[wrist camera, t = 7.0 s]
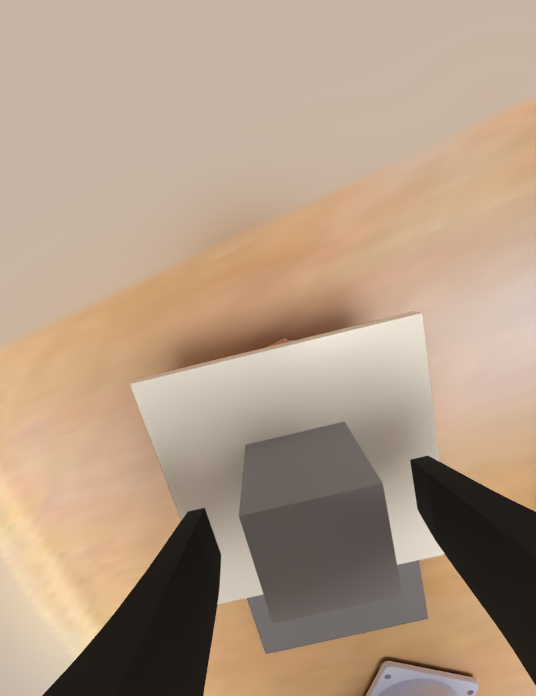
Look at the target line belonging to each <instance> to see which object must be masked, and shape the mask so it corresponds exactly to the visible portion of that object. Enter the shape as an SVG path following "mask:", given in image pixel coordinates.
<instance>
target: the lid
mask: <svg viewBox="0 0 536 696" xmlns="http://www.w3.org/2000/svg"><path fill="white" fill-rule="evenodd" d="M130 386H131V388H132V391H133V394H134V396H135V399H136V402H137V404H138V407H139V410H140V412H141V415H142V418H143V420H144V423H145V426H146V428H147V431H148V434H149V436H150V439H151V442H152V444H153V447H154V450H155V452H156V455H157V458H158V461H159V463H160V466H161V469H162V471H163V474H164V477H165V479H166V482H167V485H168V487H169V490H170V493H171V495H172V498H173V501H174V503H175V506H176V509H177V511H178V514H179V517H180V519H181V520H182V519H183V518H184V516H185V515H186V513H187V512H188V511H192V510H197V509H201V508H205V510H206V513H207V516H208V518H209V521H210V524H211V527H212V530H213V533H214V535H215V538H216V541H217V544H218V547H219V550H220V553H221V570H220V587H219V596H218V603H217V605H218V604H223V603H227V602H232V601H236V600H241V599H245V598H250V597H254V596H259V595H264V597H265V601H266V604H267V607H268V610H269V613H270V616H271V619H272V623H273V624H274V623H279V622H283V621H288V620H293V619H297V618H302V617H306V616H311V615H315V614H320V613H325V612H329V611H334V610H338V609H343V608H347V607H352V606H357V605H361V604H366V603H370V602H375V601H379V600H384V599H389V598H393V597H398V596H402V590H401V584H400V579H399V573H398V567H397V565H399V564H404V563H408V562H413V561H417V560H422V559H426V558H431V557H435V556H440V555H444V554H445V553H444V552H443V551H442V549H441V548H440V546H439V545H438V544H437V542H436V541H435V539H434V537H433V536H432V534H431V532H430V530H429V529H428V527H427V525H426V524H425V522H424V520H423V518H422V517H421V515H420V513H419V511H418V509H417V503H416V496H415V490H414V483H413V476H412V470H411V463H410V460H411V459H415V458H419V457H424V456H430V457H432V458H433V459H435V460H437V461H439V462H440V459H439V451H438V442H437V434H436V426H435V418H434V409H433V401H432V393H431V384H430V376H429V368H428V359H427V351H426V343H425V334H424V326H423V318H422V313H419V312H409V313H405V314H401V315H397V316H393V317H389V318H385V319H381V320H376V321H372V322H368V323H364V324H360V325H356V326H352V327H348V328H344V329H340V330H335V331H331V332H327V333H323V334H319V335H315V336H311V337H307V338H303V339H299V340H294V341H290V342H286V343H282V344H278V345H274V346H270V347H266V348H262V349H258V350H253V351H249V352H245V353H241V354H237V355H233V356H229V357H225V358H221V359H217V360H212V361H208V362H204V363H200V364H196V365H192V366H188V367H184V368H180V369H176V370H171V371H167V372H163V373H159V374H155V375H151V376H147V377H143V378H139V379H136V380H135V381H133V382H132V383H131V384H130Z"/></svg>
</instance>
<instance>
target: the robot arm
mask: <svg viewBox="0 0 536 696" xmlns="http://www.w3.org/2000/svg"><path fill="white" fill-rule="evenodd" d="M410 463H411V470H412V476H413V483H414V490H415V496H416V503H417V509H418V511H419V513H420V515H421V517H422V518H423V520H424V522H425V524H426V525H427V527H428V529H429V530H430V532H431V534H432V536H433V537H434V539H435V541H436V542H437V544H438V545H439V546H440V548H441V549H442V551H443V552H444V553H445V555H446V556H447V558H448V559H449V560H450V562H451V563H452V565H453V566H454V567H455V569H456V570H457V571H458V573H459V574H460V576H461V577H462V578H463V580H464V581H465V582H466V584H467V585H468V587H469V588H470V589H471V591H472V592H473V593H474V595H475V596H476V598H477V599H478V600H479V602H480V603H481V604H482V606H483V607H484V609H485V610H486V611H487V613H488V614H489V615H490V617H491V618H492V620H493V621H494V622H495V624H496V625H497V627H498V628H499V629H500V631H501V632H502V634H503V635H504V637H505V638H506V640H507V641H508V643H509V644H510V646H511V647H512V649H513V650H514V652H515V653H516V655H517V656H518V658H519V660H520V661H521V663H522V664H523V666H524V668H525V669H526V671H527V672H528V674H529V675H530V677H531V679H532V680H533V682H534V683H535V685H536V512H535V511H533V510H531V509H529V508H526V507H524V506H522V505H520V504H518V503H516V502H514V501H512V500H510V499H508V498H506V497H504V496H502V495H500V494H498V493H496V492H494V491H492V490H490V489H489V488H487V487H485V486H483V485H481V484H479V483H477V482H475V481H474V480H472V479H470V478H468V477H466V476H464V475H463V474H461V473H459V472H457V471H455V470H453V469H452V468H450V467H448V466H446V465H444V464H443V463H441V462H439V461H437V460H435V459H433V458H432V457H430V456H424V457H419V458H415V459H411V460H410ZM220 570H221V553H220V550H219V547H218V544H217V541H216V538H215V535H214V533H213V530H212V527H211V524H210V521H209V518H208V516H207V513H206V510H205V508H201V509H197V510H192V511H188V512H187V513H186V515H185V516H184V518H183V519H182V520H181V522H180V523H179V525H178V526H177V528H176V529H175V531H174V532H173V534H172V535H171V537H170V538H169V539H168V541H167V542H166V544H165V545H164V547H163V548H162V550H161V551H160V552H159V554H158V555H157V557H156V558H155V560H154V561H153V562H152V564H151V565H150V567H149V568H148V570H147V571H146V572H145V574H144V575H143V576H142V578H141V579H140V580H139V582H138V583H137V584H136V586H135V587H134V588H133V590H132V591H131V592H130V594H129V595H128V596H127V598H126V599H125V600H124V602H123V603H122V604H121V606H120V607H119V608H118V609H117V611H116V612H115V613H114V615H113V616H112V617H111V618H110V620H109V621H108V622H107V623H106V624H105V626H104V627H103V628H102V629H101V631H100V632H99V633H98V634H97V635H96V636H95V638H94V639H93V640H92V641H91V642H90V643H89V645H88V646H87V647H86V648H85V649H84V650H83V652H82V653H81V654H80V655H79V656H78V657H77V659H76V660H75V661H74V662H73V663H72V664H71V665H70V666H69V668H68V669H67V670H66V671H65V672H64V673H63V674H62V675H61V676H60V677H59V678H58V679H57V680H56V681H55V683H54V684H53V685H52V686H51V687H50V688H49V689H48V690H47V691H46V692H45V693H44V695H43V696H203V693H204V686H205V680H206V673H207V667H208V661H209V654H210V648H211V642H212V635H213V629H214V623H215V616H216V609H217V603H218V596H219V587H220ZM478 688H479V685H478V683H477V681H476V679H475V678H473V677H469V676H464V675H459V674H454V673H449V672H444V671H439V670H434V669H429V668H423V667H418V666H413V665H408V664H403V663H398V662H393V661H385V662H384V663H383V664H382V666H381V668H380V670H379V672H378V673H377V675H376V677H375V679H374V681H373V683H372V685H371V687H370V689H369V690H368V692H367V694H366V696H474V695H475V693H476V692H477V690H478Z"/></svg>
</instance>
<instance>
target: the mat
mask: <svg viewBox="0 0 536 696" xmlns="http://www.w3.org/2000/svg"><path fill="white" fill-rule="evenodd" d="M397 567H398V573H399V579H400V584H401V590H402V596H398V597H393V598H389V599H384V600H379V601H375V602H370V603H366V604H361V605H357V606H352V607H347V608H343V609H338V610H334V611H329V612H325V613H320V614H315V615H311V616H306V617H302V618H297V619H293V620H288V621H283V622H279V623H274V624H273V623H272V619H271V616H270V613H269V610H268V607H267V604H266V601H265V597H264V595H259V596H254V597H250V598H247V600H248V603H249V606H250V609H251V612H252V614H253V617H254V620H255V623H256V626H257V629H258V632H259V635H260V638H261V641H262V644H263V647H264V650H265V653H266V654H269V653H273V652H278V651H282V650H287V649H292V648H296V647H301V646H305V645H310V644H314V643H319V642H324V641H328V640H333V639H337V638H342V637H346V636H351V635H356V634H360V633H365V632H369V631H374V630H379V629H383V628H388V627H392V626H397V625H401V624H406V623H411V622H415V621H420V620H424V619H428V616H427V610H426V604H425V597H424V591H423V584H422V578H421V572H420V565H419V560H417V561H413V562H408V563H404V564H399V565H397Z"/></svg>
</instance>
